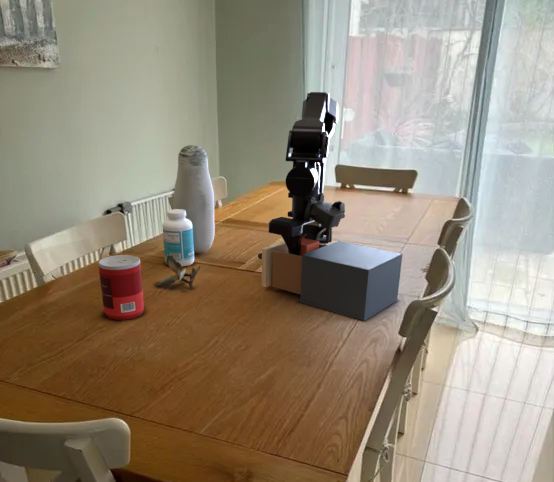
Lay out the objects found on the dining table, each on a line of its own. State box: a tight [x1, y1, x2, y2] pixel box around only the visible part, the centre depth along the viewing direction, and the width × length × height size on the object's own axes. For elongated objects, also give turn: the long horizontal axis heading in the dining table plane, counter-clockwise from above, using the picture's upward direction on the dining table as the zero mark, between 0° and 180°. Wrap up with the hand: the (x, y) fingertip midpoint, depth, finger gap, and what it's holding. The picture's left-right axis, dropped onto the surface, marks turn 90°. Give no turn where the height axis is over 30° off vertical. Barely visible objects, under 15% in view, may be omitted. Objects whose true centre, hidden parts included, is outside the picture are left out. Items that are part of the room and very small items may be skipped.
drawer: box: [257, 240, 328, 295], centre depth 124 cm, size 19×13×9 cm
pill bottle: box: [161, 208, 195, 267], centre depth 138 cm, size 8×7×14 cm
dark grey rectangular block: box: [299, 240, 403, 322], centre depth 116 cm, size 16×15×11 cm
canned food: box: [98, 254, 145, 321], centre depth 108 cm, size 8×8×11 cm
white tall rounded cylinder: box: [173, 144, 216, 254], centre depth 145 cm, size 10×10×28 cm
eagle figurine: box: [156, 255, 201, 290], centre depth 124 cm, size 8×7×9 cm
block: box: [288, 238, 319, 256], centre depth 122 cm, size 5×5×5 cm
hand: (303, 258), depth 123 cm, fingers closed on block, 5 cm apart
